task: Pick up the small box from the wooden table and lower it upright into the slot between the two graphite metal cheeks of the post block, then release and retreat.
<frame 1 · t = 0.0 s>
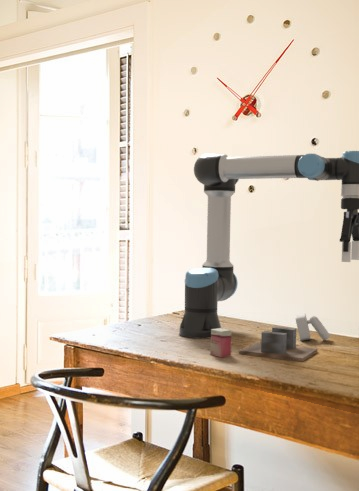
hand: (350, 260, 215), 28 cm above the table, tool pointing down, fingers open, 13 cm apart
slotted post block: (278, 352, 199), on the table
small box: (220, 355, 194), on the table
wall hook: (312, 340, 221), on the table
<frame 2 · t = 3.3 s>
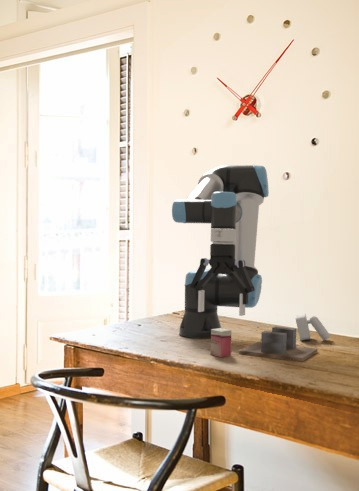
hand: (221, 313, 193), 13 cm above the table, tool pointing down, fingers open, 13 cm apart
nothing on the table moved.
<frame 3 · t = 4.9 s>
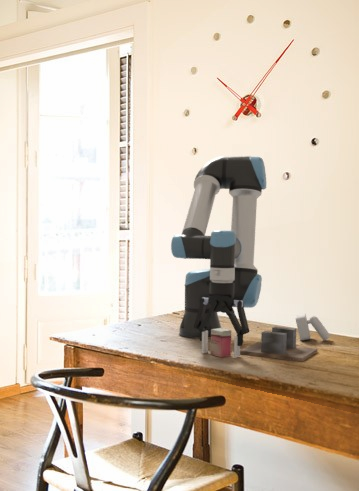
hand: (220, 354, 194), 0 cm above the table, tool pointing down, fingers open, 10 cm apart
nothing on the table moved.
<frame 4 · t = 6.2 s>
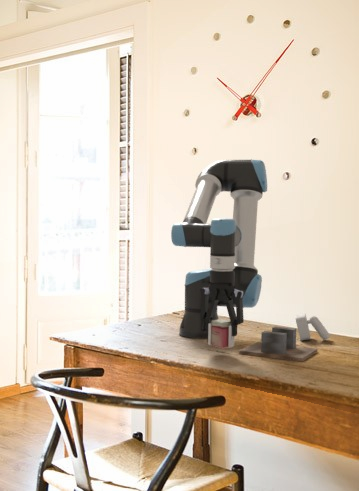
hand: (221, 345, 194), 3 cm above the table, tool pointing down, fingers closed on small box, 6 cm apart
small box: (221, 346, 194), point 2 cm above the table, touching gripper
everything else where it was.
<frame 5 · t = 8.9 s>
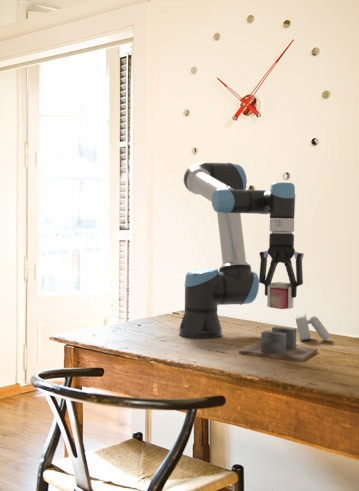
hand: (280, 307, 198), 14 cm above the table, tool pointing down, fingers closed on small box, 6 cm apart
small box: (280, 308, 198), point 14 cm above the table, touching gripper
everything else where it was.
when the fingers open (2 cm above the table, at t = 11.4 s): small box stays where it is, resting on slotted post block.
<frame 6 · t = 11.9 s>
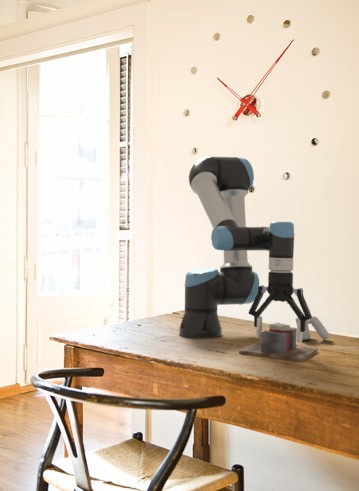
hand: (279, 339, 199), 4 cm above the table, tool pointing down, fingers open, 12 cm apart
small box: (278, 350, 199), point 1 cm above the table, touching slotted post block
everything else where it was.
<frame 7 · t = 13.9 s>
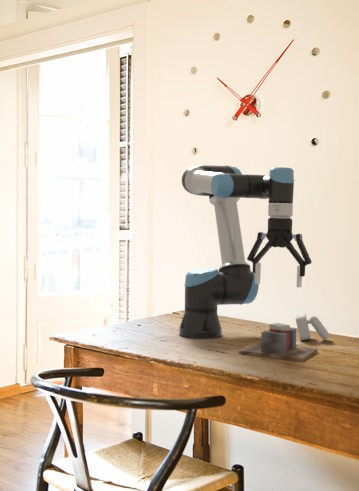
hand: (277, 285, 200), 21 cm above the table, tool pointing down, fingers open, 13 cm apart
nothing on the table moved.
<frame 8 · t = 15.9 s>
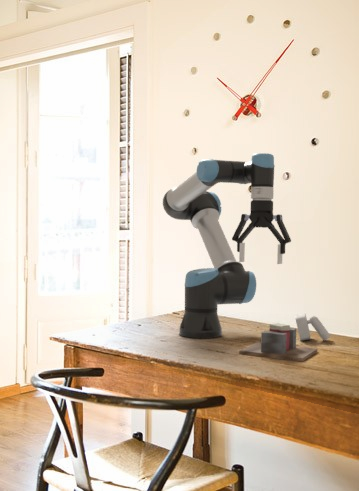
hand: (260, 262, 216), 27 cm above the table, tool pointing down, fingers open, 13 cm apart
nothing on the table moved.
at the end: small box 0.1 cm off-centre on the slotted post block, point 0.8 cm above the slotted post block's base; small box tilted 0°; the gripper is holding nothing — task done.
